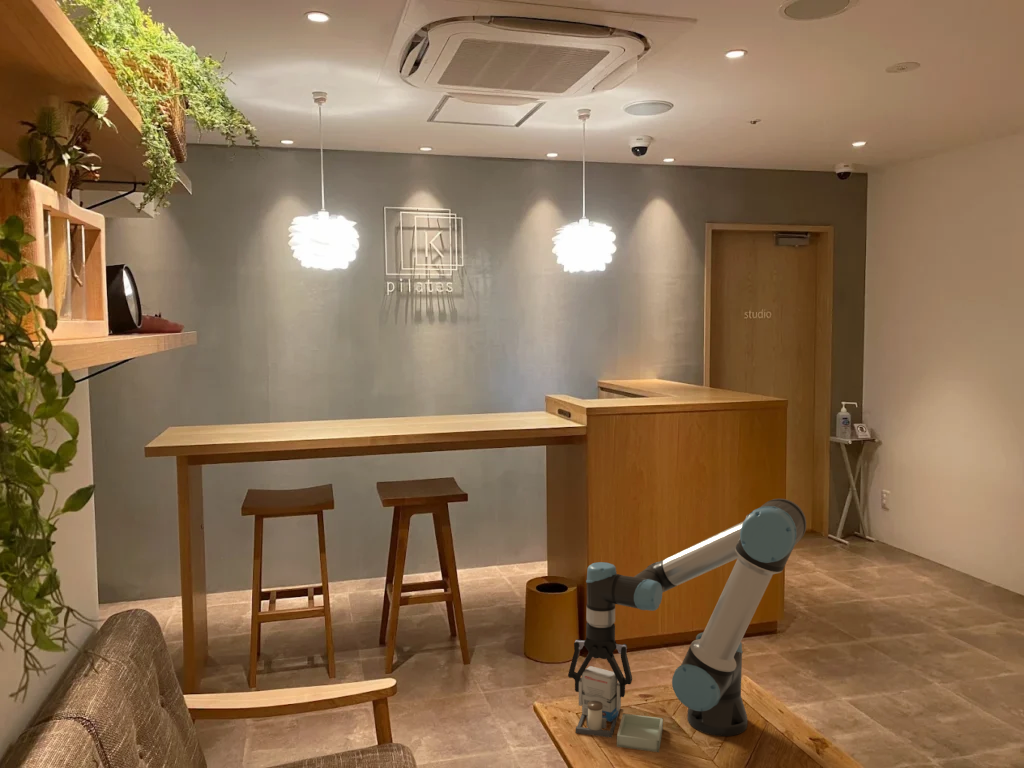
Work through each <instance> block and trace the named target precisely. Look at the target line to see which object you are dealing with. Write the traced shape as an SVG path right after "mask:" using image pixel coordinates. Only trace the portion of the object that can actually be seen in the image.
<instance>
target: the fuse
mask: <svg viewBox="0 0 1024 768" xmlns="http://www.w3.org/2000/svg"><path fill="white" fill-rule="evenodd" d="M602 708H603V704H602V703H601V702H599V701H590V702H588V726H587V728H589V729H591V730H603V728H602Z"/></svg>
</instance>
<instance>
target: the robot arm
mask: <svg viewBox="0 0 1024 768" xmlns="http://www.w3.org/2000/svg"><path fill="white" fill-rule="evenodd" d="M806 531H807V519H806V515H805V513H804V511H803V510H802V508H801V507H800V506H799V505H798V504H797V503H795V502H794V501H792V500H790V499H786V498H773V499H770V500H768V501H766V502H764V503H763V504H762V505H761V506H760V507H758V508H755V509H754V510H752V511H751V512H750V513H749V514H746V516H745V519H744V520H743V521H741V522H740V523H739V522H738V523H737V524H734V525H733V526H731V527H729V528H727V529H725V530H723V531H721V532H719V533H716V534H714V535H711V536H710V537H707V538H706V539H703V540H702V541H699V542H698V543H694V544H693V545H691V546H689V547H687V548H685V549H683V550H681V551H679V552H676V553H675V554H674V553H673V555H671V556H668V557H666V558H664V559H663V560H660V561H657V562H653V563H651V564H650V565H648V566H647V567H646V568H645V569H643V570H642V571H640V572H639V573H637V574H636V575H634V576H628V575H623V574H618V572H617V567H616V566H615V564H613V563H609V562H601V561H599V562H593V563H591V564H590V565H588V567H587V569H586V570H587V573H586V580H585V582H586V618H585V619H586V620H585V621H586V626H585V627H586V629H585V635H586V636H585V639H584V640H581V639H578V638H577V639H575V641H574V643H573V649H574V652H573V655H572V659H571V662H570V663H571V664H570V666H569V670H568V675H567V676H568V678H570V679H571V678H572V679H573V680H574V691H575V692H576V693H578V707H579V706H580V707H582V674H583V672H584V670H585V669H587V668H588V666H589V663H590V661H591V660H592V658H593V659H601V660H606V661H607V663H608V664H609V665H610V668H611V670H612V672H614V674H615V676H616V678H617V680H618V684H617V710H618V711H619V710H621V707H622V706H621V705H622V704H621V703H622V698H625V695H626V685H631V684H632V681H633V675H632V671H631V667H630V662H629V660H628V659H629V658H628V654H627V651H628V650H627V649H628V645H627V644H626V643H623V644H620V643H619V644H618V643H617V642H616V624H615V623H616V605H618V606H619V605H620V606H624V607H628V608H634V609H639V610H641V611H656V610H657V609H659V607H660V605H661V603H662V599H663V593H665V592H667V591H669V590H671V589H674V588H675V587H677V586H680V585H682V584H684V583H686V582H688V581H691V580H693V579H694V578H697V577H699V576H702V575H704V574H706V573H709V572H710V571H713V570H716V569H717V568H719V567H721V566H724V565H725V564H728V563H730V562H733V561H735V560H736V561H735V563H734V566H733V567H732V570H731V572H730V575H729V577H728V579H727V580H726V583H725V585H724V587H723V590H722V592H721V594H720V596H719V598H718V599H717V600H718V601H717V602H716V605H715V607H714V609H713V611H712V614H711V615H710V618H709V619H708V622H707V624H706V626H705V628H704V630H703V632H700V633H698V634H697V635H696V636H695V640H693V641H692V642H691V643H690V645H689V647H688V650H687V652H686V654H685V656H684V658H683V660H682V662H681V664H680V665H679V666H678V667H676V669H675V671H674V673H673V675H672V678H671V687H672V690H673V691H674V694H675V696H676V698H677V700H678V701H679V702H680V703H682V705H684V706H685V707H687V722H688V724H689V725H690V726H691V727H693V729H696V730H697V731H699V732H701V733H704V734H707V735H713V736H717V737H718V736H719V737H730V736H736V735H740V734H742V733H744V732H745V731H746V730H747V727H748V715H747V710H746V707H745V704H744V701H743V698H742V673H743V672H742V665H743V664H742V662H743V652H744V651H743V643H742V640H743V638H744V636H745V634H746V631H747V629H748V627H749V625H750V624H751V622H752V619H753V617H754V615H755V613H756V611H757V608H758V607H759V604H760V603H761V601H762V598H763V596H764V595H765V592H766V590H767V588H768V586H769V584H770V582H771V580H772V578H773V575H775V574H780V573H783V571H784V570H785V567H786V564H787V562H788V561H789V558H790V556H791V554H792V552H793V550H794V549H795V546H796V545H797V544H798V543H799V542H800V541H801V540H802V538H803V537H804V535H805V533H806ZM583 647H585V649H586V650H587V651H588V652H587V653H588V654H587V655H586V657H585V658H584V661H582V663H581V665H580V667H579V669H578V670H577V672H576V667H577V663H578V660H579V656H580V652H581V650H582V649H583ZM615 650H617V652H618V654H620V660H621V665H622V668H623V672H624V673H623V672H622V670H621V668H620V666H619V664H618V661H617V660H616V657H615V654H614V651H615ZM619 712H620V711H619Z"/></svg>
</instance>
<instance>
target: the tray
mask: <svg viewBox="0 0 1024 768" xmlns="http://www.w3.org/2000/svg"><path fill="white" fill-rule="evenodd" d="M663 730H664V718H663V717H656V716H648V715H640V714H639V715H638V714H632V713H631V714H630V713H623V712H622V716H621V720H620V723H619V727H618V730H617V735H616V747H617V748H625V749H631V750H639V751H640V750H641V751H647V752H652V753H653V752H654V753H660V748H661V744H662V743H661V742H662V736H663Z"/></svg>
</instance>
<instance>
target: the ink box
mask: <svg viewBox="0 0 1024 768" xmlns="http://www.w3.org/2000/svg"><path fill="white" fill-rule="evenodd" d="M581 678H582V706H581V715H582V714H583V715H585V716H586V717H587V716H588V702H590V701H599V702H601V703H602V704H603V708H602V718H606V722H610V723H612V722H613V719H614V718H615V717H616V716H617V715H618V716H619V714H618V710H617V684H618V680H617V678H616V676H615V674H614V672H613V670H612V671H611V670H607V669H605V668H604V669H603V668H601V667H595V666H592V665H588V666H587V667H586V669H585V670H584V672H583V674H582V675H581Z"/></svg>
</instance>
